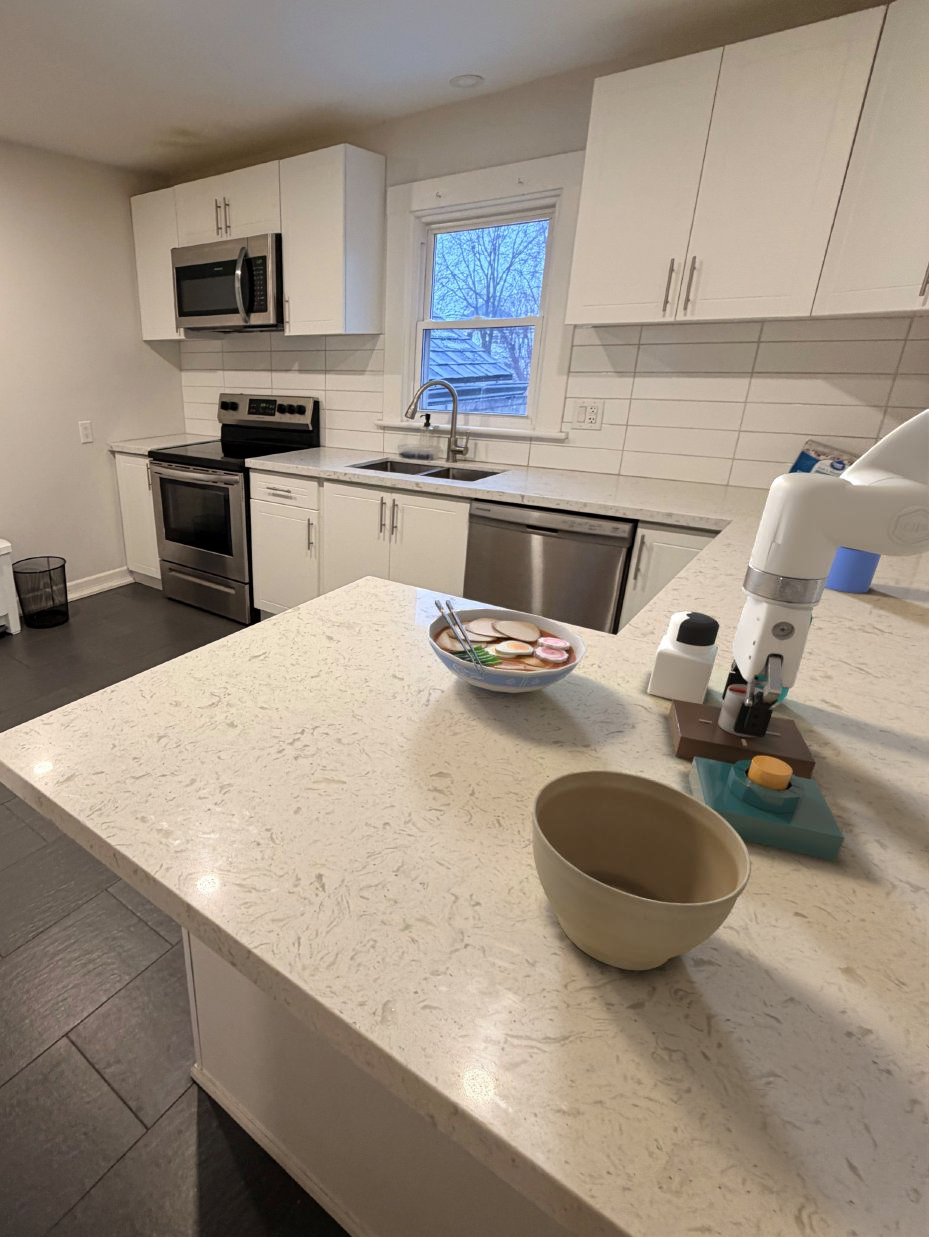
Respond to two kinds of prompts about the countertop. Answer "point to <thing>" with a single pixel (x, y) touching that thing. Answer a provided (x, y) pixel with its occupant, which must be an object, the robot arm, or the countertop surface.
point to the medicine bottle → (685, 658)
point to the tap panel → (735, 739)
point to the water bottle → (852, 570)
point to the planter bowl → (634, 865)
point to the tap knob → (733, 707)
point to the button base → (768, 808)
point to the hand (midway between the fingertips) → (741, 716)
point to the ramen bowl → (504, 648)
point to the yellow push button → (770, 772)
